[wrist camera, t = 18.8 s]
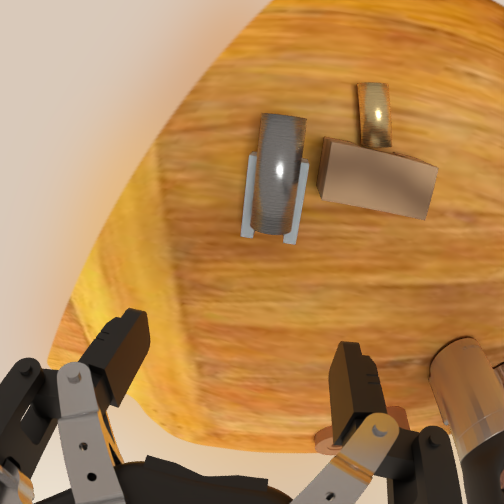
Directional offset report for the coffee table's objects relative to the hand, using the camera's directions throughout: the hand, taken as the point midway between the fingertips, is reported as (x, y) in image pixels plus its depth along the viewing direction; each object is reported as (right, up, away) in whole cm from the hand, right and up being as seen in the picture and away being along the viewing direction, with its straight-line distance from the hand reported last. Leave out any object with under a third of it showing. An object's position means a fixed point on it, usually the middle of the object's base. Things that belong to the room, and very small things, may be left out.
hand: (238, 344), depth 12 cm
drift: (+11, +17, +14) cm, 24 cm away
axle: (+2, +11, +15) cm, 19 cm away
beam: (+12, +12, +16) cm, 24 cm away
